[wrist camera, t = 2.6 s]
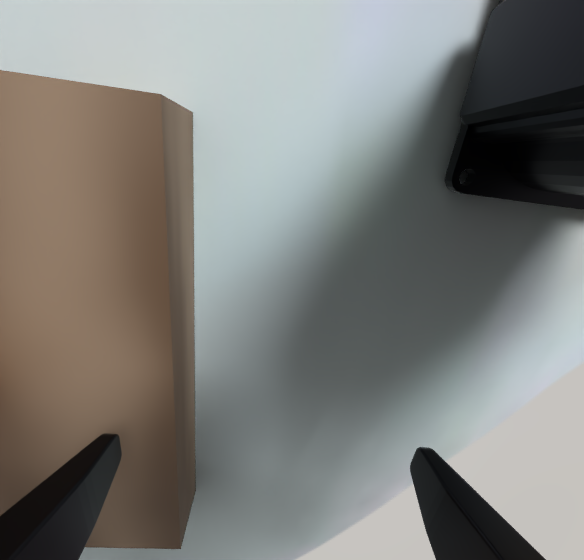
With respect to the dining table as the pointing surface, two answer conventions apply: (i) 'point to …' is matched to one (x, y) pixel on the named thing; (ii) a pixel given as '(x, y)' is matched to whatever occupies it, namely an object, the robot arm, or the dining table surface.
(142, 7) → the dining table surface
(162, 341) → the pocket board
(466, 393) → the dining table surface
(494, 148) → the robot arm
